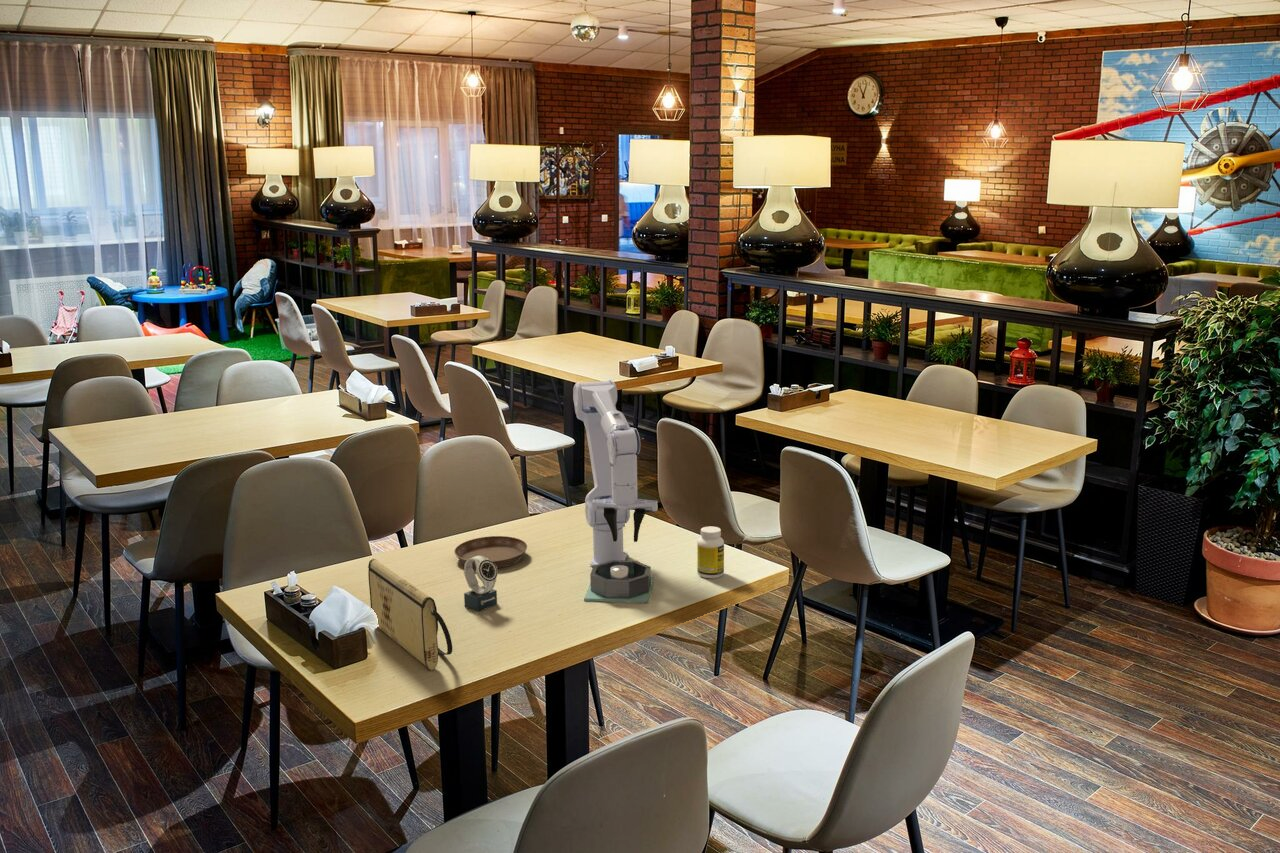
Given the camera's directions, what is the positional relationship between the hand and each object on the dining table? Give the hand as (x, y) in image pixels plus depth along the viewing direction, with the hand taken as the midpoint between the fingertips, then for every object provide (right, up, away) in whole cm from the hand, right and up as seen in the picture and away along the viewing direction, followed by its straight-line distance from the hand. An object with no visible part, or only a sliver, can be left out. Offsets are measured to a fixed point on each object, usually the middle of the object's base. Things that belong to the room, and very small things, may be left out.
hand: (625, 540), depth 240 cm
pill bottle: (+20, -9, +7) cm, 23 cm away
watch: (-31, -13, -9) cm, 35 cm away
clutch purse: (-42, -18, -28) cm, 54 cm away
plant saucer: (-33, -7, +20) cm, 39 cm away
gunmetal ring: (-1, -10, -1) cm, 11 cm away
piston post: (-1, -11, -1) cm, 11 cm away
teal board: (-1, -11, -1) cm, 11 cm away
